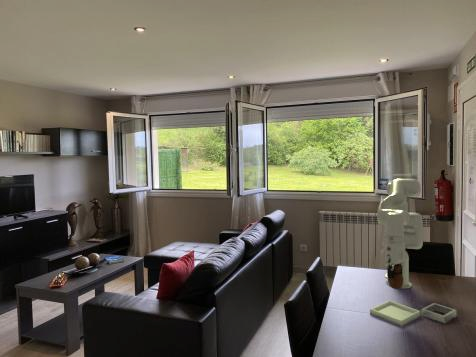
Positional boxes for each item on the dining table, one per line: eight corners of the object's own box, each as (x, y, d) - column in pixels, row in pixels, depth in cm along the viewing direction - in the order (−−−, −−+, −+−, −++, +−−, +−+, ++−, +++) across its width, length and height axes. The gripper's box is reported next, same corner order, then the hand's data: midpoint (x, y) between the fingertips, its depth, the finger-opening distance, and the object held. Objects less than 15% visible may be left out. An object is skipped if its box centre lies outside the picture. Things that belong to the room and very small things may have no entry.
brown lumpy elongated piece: (405, 289, 168) (405, 257, 167) (395, 291, 167) (395, 259, 166) (395, 284, 175) (395, 254, 174) (385, 286, 173) (385, 255, 172)
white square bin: (421, 315, 171) (421, 309, 171) (433, 308, 178) (433, 302, 177) (444, 323, 163) (444, 317, 162) (456, 316, 169) (456, 310, 169)
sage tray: (370, 313, 174) (370, 308, 174) (389, 305, 183) (389, 300, 183) (401, 326, 161) (401, 321, 161) (420, 316, 170) (420, 311, 170)
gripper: (391, 243, 161) (391, 282, 163) (412, 237, 171) (412, 274, 173) (376, 240, 168) (376, 278, 169) (397, 234, 177) (397, 270, 179)
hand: (394, 275), depth 171 cm, fingers closed on brown lumpy elongated piece, 6 cm apart
